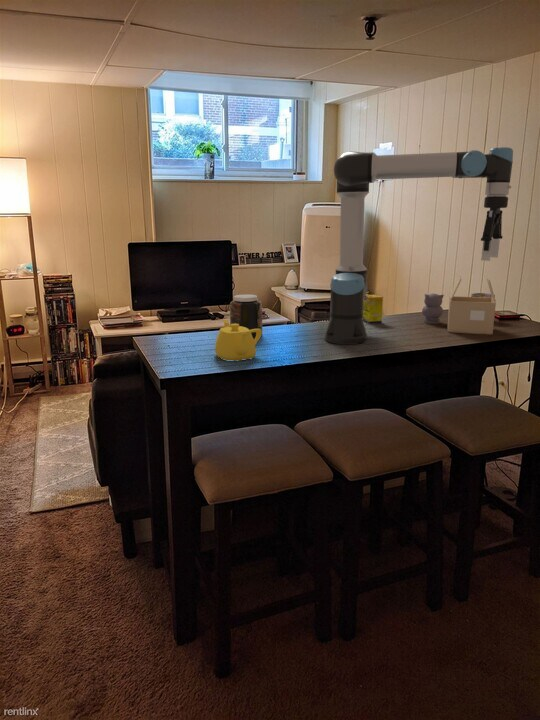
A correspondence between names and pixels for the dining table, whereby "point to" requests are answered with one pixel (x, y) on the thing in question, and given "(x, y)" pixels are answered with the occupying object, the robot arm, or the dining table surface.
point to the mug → (481, 295)
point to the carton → (471, 315)
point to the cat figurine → (432, 308)
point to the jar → (246, 312)
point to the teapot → (236, 342)
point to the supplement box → (372, 309)
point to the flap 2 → (490, 289)
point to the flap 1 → (455, 287)
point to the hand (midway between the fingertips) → (489, 258)
